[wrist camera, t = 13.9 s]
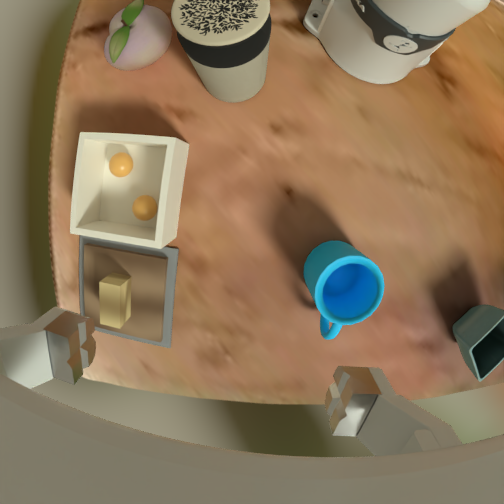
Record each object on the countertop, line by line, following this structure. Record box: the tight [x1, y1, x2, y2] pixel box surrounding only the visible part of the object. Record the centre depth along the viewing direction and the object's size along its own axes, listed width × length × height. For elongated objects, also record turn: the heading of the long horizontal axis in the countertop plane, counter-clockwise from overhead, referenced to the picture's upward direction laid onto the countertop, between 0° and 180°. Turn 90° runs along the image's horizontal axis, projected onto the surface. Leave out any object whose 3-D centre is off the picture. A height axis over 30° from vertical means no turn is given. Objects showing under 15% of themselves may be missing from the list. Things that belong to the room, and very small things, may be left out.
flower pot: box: [452, 305, 504, 381], centre depth 39 cm, size 9×9×9 cm
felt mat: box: [79, 235, 179, 348], centre depth 42 cm, size 15×15×1 cm
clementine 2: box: [132, 195, 158, 221], centre depth 37 cm, size 3×3×3 cm
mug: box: [304, 241, 384, 340], centre depth 37 cm, size 12×8×8 cm
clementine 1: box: [109, 152, 133, 177], centre depth 36 cm, size 3×3×3 cm
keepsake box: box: [70, 132, 189, 249], centre depth 35 cm, size 12×12×7 cm
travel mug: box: [171, 0, 271, 102], centre depth 26 cm, size 8×8×18 cm
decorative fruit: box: [104, 0, 172, 71], centre depth 29 cm, size 9×8×10 cm
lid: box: [84, 243, 168, 342], centre depth 39 cm, size 12×12×5 cm
